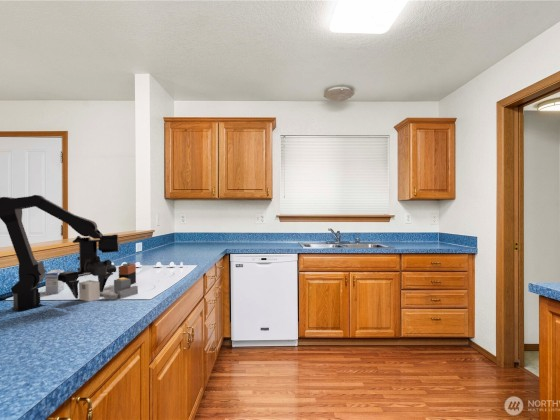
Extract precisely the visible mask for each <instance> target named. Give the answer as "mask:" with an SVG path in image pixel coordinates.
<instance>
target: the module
mask: <svg viewBox="0 0 560 420" xmlns="http://www.w3.org/2000/svg"><path fill="white" fill-rule="evenodd" d="M100 296H101V295H100V291H99V282H98V281H97V280H91V279H89V280H85V281H79V283H78V299H79V300H80V301H85V302H93V301H96V300H99V299H100V298H101V297H100Z"/></svg>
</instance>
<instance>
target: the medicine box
mask: <svg viewBox="0 0 560 420" xmlns="http://www.w3.org/2000/svg"><path fill="white" fill-rule="evenodd" d="M61 272H65V271H64V269H52V270H49V271H48V272H45V277H44V279H45V295H46V294H49V295H56V294H60V292H62V291H63V290H64V288H65V283H64V282H62V281H58V275H59V273H61Z"/></svg>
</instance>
